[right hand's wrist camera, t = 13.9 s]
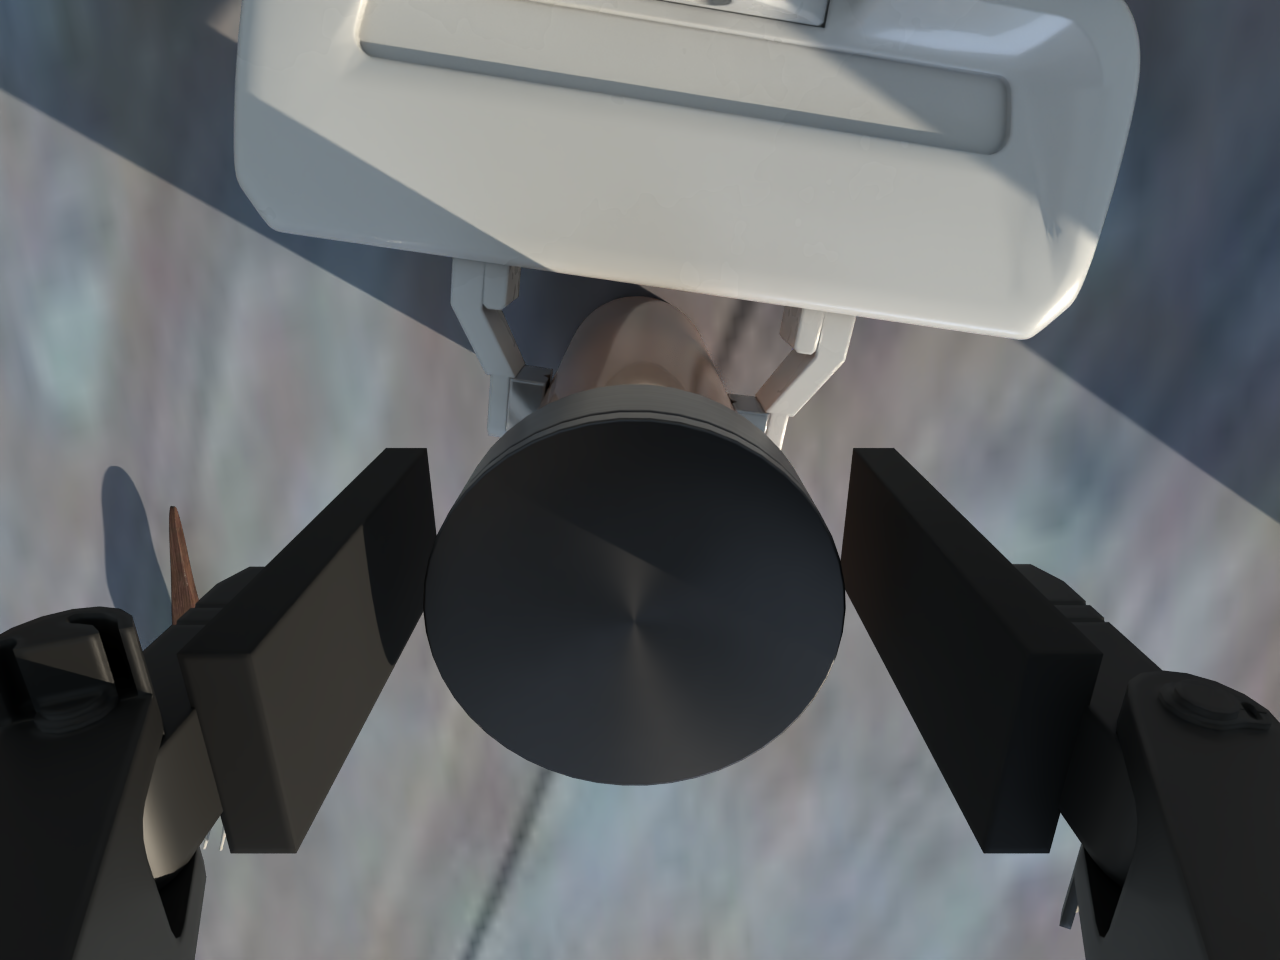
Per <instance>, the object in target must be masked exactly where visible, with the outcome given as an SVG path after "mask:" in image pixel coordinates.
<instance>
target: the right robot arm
mask: <svg viewBox="0 0 1280 960" xmlns="http://www.w3.org/2000/svg"><path fill="white" fill-rule="evenodd" d="M435 539H436V527H435V518H434V509H433V500H432V491H431V482H430V473H429V464H428V455H427V448H386V449H385V450H384V451H383V452H382V453H381V454H380V455H379V456H378V457H377V458H376V459H374V460H373V461H372V462H371V463H370V464H369V465H368V466H367V467H366V468H365V469H364V470H363V471H362V472H361V473H360V474H359V475H358V476H357V477H356V478H355V479H354V480H353V481H352V482H351V483H350V484H349V485H348V486H347V487H346V488H345V489H344V490H343V491H342V492H341V493H340V494H339V495H338V496H337V497H336V498H335V499H334V500H333V501H332V502H331V503H330V504H329V505H328V506H327V507H326V508H325V509H324V510H323V511H321V512H320V513H319V514H318V515H317V516H316V517H315V518H314V519H313V520H312V521H311V522H310V523H309V524H308V525H307V526H306V527H305V528H304V529H303V530H302V531H301V532H300V533H299V534H298V535H297V536H296V537H295V538H294V539H293V540H292V541H291V542H290V543H289V544H288V545H287V546H286V547H285V548H284V549H283V550H282V551H281V552H280V553H279V554H278V555H277V556H276V557H275V558H274V559H273V560H272V561H271V562H270V563H269V564H267V565H266V566H265V567H248V568H246V569H244V570H242V571H241V572H239V573H237V574H235V575H233V576H231V577H229V578H227V579H225V580H223V581H222V582H220V583H218V584H216V585H215V586H214V587H213V588H212V589H211V590H210V591H209V592H208V593H206V594H205V595H204V596H203V597H202V598H201V599H200V600H199V601H198V602H197V603H195V608H190V609H189V610H188V611H187V612H186V613H184V614H183V615H182V616H181V617H180V618H179V619H178V620H177V624H176V625H171V626H170V627H169V628H168V629H167V630H166V631H165V632H164V633H162V634H161V635H160V636H159V637H158V638H157V639H156V640H155V641H154V642H153V643H151V644H150V645H149V646H148V647H147V648H146V649H145V650H144V651H143V652H142V648H141V645H140V641H139V638H138V634H137V631H136V628H135V624H134V621H133V617H132V615H130V614H128V613H126V612H125V611H123V610H121V609H117V608H108V607H90V608H79V609H71V610H67V611H63V612H59V613H55V614H50V615H46V616H42V617H39V618H37V619H34V620H31V621H29V622H26V623H24V624H21V625H18V626H16V627H13V628H11V629H9V630H7V631H5V632H4V633H2V634H0V960H195V953H196V946H197V939H198V932H199V925H200V918H201V911H202V904H203V897H204V890H205V883H206V872H205V866H204V860H203V857H202V854H201V850H200V847H199V846H200V844H201V843H202V841H203V840H204V838H205V837H206V835H207V834H208V833H209V831H210V830H211V828H212V827H213V825H214V824H215V822H216V821H217V819H218V818H219V816H221V819H222V823H223V827H224V830H225V834H226V838H227V841H228V845H229V849H230V852H231V853H297V851H298V849H299V847H300V845H301V843H302V841H303V839H304V838H305V836H306V834H307V832H308V830H309V828H310V826H311V824H312V822H313V820H314V819H315V817H316V815H317V813H318V811H319V809H320V807H321V805H322V803H323V801H324V799H325V798H326V796H327V794H328V792H329V790H330V788H331V786H332V784H333V782H334V780H335V779H336V777H337V775H338V773H339V771H340V769H341V767H342V765H343V763H344V761H345V760H346V758H347V756H348V754H349V752H350V750H351V748H352V746H353V744H354V742H355V740H356V739H357V737H358V735H359V733H360V731H361V729H362V727H363V725H364V723H365V721H366V720H367V718H368V716H369V714H370V712H371V710H372V708H373V706H374V704H375V702H376V701H377V699H378V697H379V695H380V693H381V691H382V689H383V687H384V685H385V683H386V681H387V680H388V678H389V676H390V674H391V672H392V670H393V668H394V666H395V664H396V662H397V661H398V659H399V657H400V655H401V653H402V651H403V649H404V647H405V645H406V643H407V641H408V640H409V638H410V636H411V634H412V632H413V630H414V628H415V626H416V624H417V622H418V621H419V619H420V617H421V615H422V613H423V596H424V580H425V575H426V570H427V564H428V559H429V556H430V553H431V550H432V548H433V545H434V542H435ZM841 566H842V572H843V577H844V582H845V590H846V592H847V594H848V596H849V598H850V600H851V602H852V603H853V605H854V607H855V609H856V611H857V613H858V615H859V617H860V619H861V621H862V622H863V624H864V626H865V628H866V630H867V632H868V634H869V636H870V638H871V640H872V642H873V643H874V645H875V647H876V649H877V651H878V653H879V655H880V657H881V659H882V661H883V662H884V664H885V666H886V668H887V670H888V672H889V674H890V676H891V678H892V680H893V681H894V683H895V685H896V687H897V689H898V691H899V693H900V695H901V697H902V699H903V701H904V702H905V704H906V706H907V708H908V710H909V712H910V714H911V716H912V718H913V720H914V721H915V723H916V725H917V727H918V729H919V731H920V733H921V735H922V737H923V739H924V740H925V742H926V744H927V746H928V748H929V750H930V752H931V754H932V756H933V758H934V760H935V761H936V763H937V765H938V767H939V769H940V771H941V773H942V775H943V777H944V779H945V780H946V782H947V784H948V786H949V788H950V790H951V792H952V794H953V796H954V798H955V799H956V801H957V803H958V805H959V807H960V809H961V811H962V813H963V815H964V817H965V819H966V820H967V822H968V824H969V826H970V828H971V830H972V832H973V834H974V836H975V838H976V839H977V841H978V843H979V845H980V847H981V849H982V851H983V853H1049V852H1050V849H1051V845H1052V841H1053V838H1054V834H1055V830H1056V827H1057V823H1058V819H1059V816H1060V812H1061V814H1062V815H1063V817H1064V818H1065V820H1066V821H1067V823H1068V824H1069V826H1070V827H1071V829H1072V830H1073V831H1074V833H1075V834H1076V836H1077V837H1078V839H1079V840H1080V842H1081V847H1080V850H1079V854H1078V857H1077V860H1076V864H1075V867H1074V871H1073V874H1072V878H1071V881H1070V884H1069V888H1068V891H1067V895H1066V898H1065V902H1064V905H1063V908H1062V913H1061V919H1060V926H1062V927H1065V928H1068V929H1071V927H1072V923H1073V920H1074V917H1075V913H1077V912H1078V911H1079V916H1080V923H1081V930H1082V937H1083V944H1084V951H1085V958H1086V960H1280V723H1279V722H1278V720H1277V719H1276V718H1275V717H1274V716H1273V715H1272V714H1271V713H1270V712H1269V710H1267V709H1266V708H1264V707H1263V706H1261V705H1260V704H1258V703H1257V702H1255V701H1254V700H1252V699H1251V698H1249V697H1248V696H1246V695H1245V694H1243V693H1240V692H1238V691H1236V690H1234V689H1232V688H1229V687H1227V686H1225V685H1223V684H1220V683H1218V682H1216V681H1212V680H1209V679H1205V678H1202V677H1198V676H1195V675H1191V674H1188V673H1180V672H1171V671H1162V670H1161V669H1160V668H1159V667H1158V666H1157V665H1156V664H1155V663H1154V662H1152V661H1151V660H1150V659H1149V658H1148V657H1147V656H1146V655H1145V654H1144V653H1142V652H1141V651H1140V650H1139V649H1138V648H1137V647H1136V646H1135V645H1134V644H1132V643H1131V642H1130V641H1129V640H1128V639H1127V638H1126V637H1125V636H1124V635H1123V634H1121V633H1120V632H1119V631H1118V630H1117V629H1116V628H1115V627H1114V626H1113V625H1111V624H1110V623H1109V622H1104V617H1103V616H1101V615H1100V614H1099V613H1098V612H1097V611H1096V610H1095V609H1094V608H1093V607H1092V606H1090V605H1086V601H1085V600H1084V599H1083V598H1082V597H1080V596H1079V595H1078V594H1077V593H1076V592H1075V591H1074V590H1073V589H1072V588H1070V587H1069V586H1068V585H1067V584H1066V583H1065V582H1064V581H1062V580H1060V579H1058V578H1056V577H1054V576H1052V575H1051V574H1049V573H1047V572H1045V571H1043V570H1041V569H1039V568H1037V567H1035V566H1033V565H1031V564H1011V563H1010V562H1009V561H1008V560H1007V559H1006V558H1005V557H1004V556H1003V555H1002V554H1001V553H1000V552H999V551H998V550H997V549H996V548H995V547H994V546H993V545H992V544H991V543H990V542H989V541H988V540H987V539H986V538H985V537H984V536H983V535H982V534H981V533H980V532H979V531H978V530H977V529H976V528H975V527H974V526H973V525H972V524H971V523H970V522H969V521H968V520H967V519H966V518H965V517H964V516H963V515H962V514H961V513H960V512H959V511H957V510H956V509H955V508H954V507H953V506H952V505H951V504H950V503H949V502H948V501H947V500H946V499H945V498H944V497H943V496H942V495H941V494H940V493H939V492H938V491H937V490H936V489H935V488H934V487H933V486H932V485H931V484H930V483H929V482H928V481H927V480H926V479H925V478H924V477H923V476H922V475H921V474H920V473H919V472H918V471H917V470H916V469H915V468H914V467H913V466H912V465H911V464H910V463H909V462H908V461H907V460H906V459H904V458H903V457H902V456H901V455H900V454H899V453H898V452H897V451H896V450H895V449H894V448H853V455H852V464H851V473H850V482H849V491H848V500H847V509H846V518H845V527H844V536H843V545H842V554H841Z"/></svg>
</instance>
